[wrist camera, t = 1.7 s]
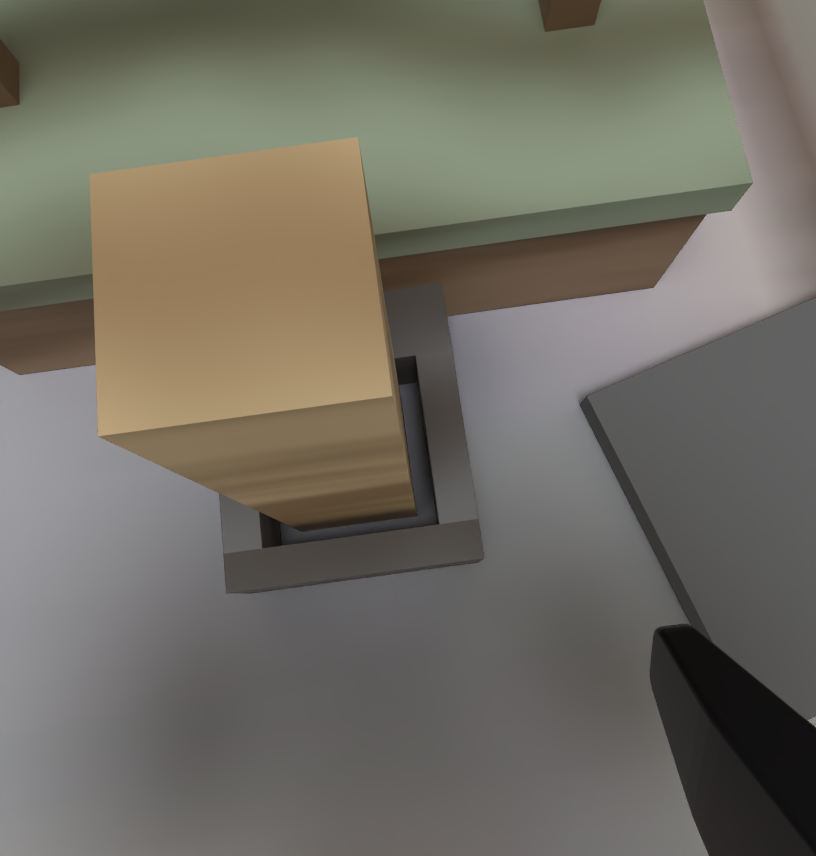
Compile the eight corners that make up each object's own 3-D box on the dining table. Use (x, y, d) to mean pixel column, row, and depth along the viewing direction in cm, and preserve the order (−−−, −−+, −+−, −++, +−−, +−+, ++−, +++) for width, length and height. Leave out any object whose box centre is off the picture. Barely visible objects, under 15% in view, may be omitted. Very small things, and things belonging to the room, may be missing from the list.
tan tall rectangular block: (416, 516, 21) (393, 395, 8) (301, 531, 21) (97, 436, 8) (401, 404, 22) (358, 137, 9) (290, 420, 22) (89, 173, 9)
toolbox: (719, 529, 20) (1173, 428, 8) (10, 626, 20) (-651, 678, 8) (599, 11, 24) (772, -593, 12) (8, 94, 25) (-430, -422, 12)
